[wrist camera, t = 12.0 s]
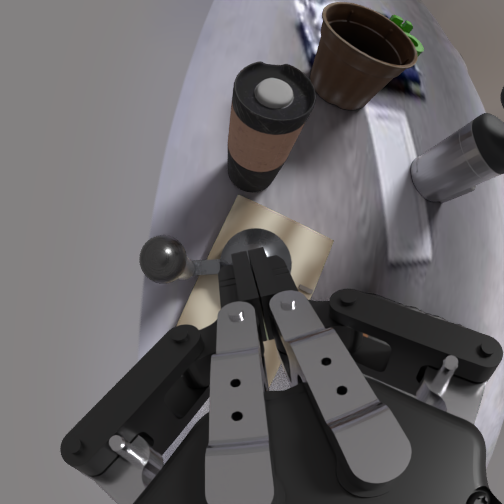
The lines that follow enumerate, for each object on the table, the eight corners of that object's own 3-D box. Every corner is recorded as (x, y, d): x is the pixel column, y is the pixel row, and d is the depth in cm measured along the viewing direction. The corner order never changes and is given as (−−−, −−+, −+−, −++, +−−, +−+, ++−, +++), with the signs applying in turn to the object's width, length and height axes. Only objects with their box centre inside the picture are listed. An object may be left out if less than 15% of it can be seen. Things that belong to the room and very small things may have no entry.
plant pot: (280, 68, 45) (300, 5, 29) (338, 50, 47) (366, -1, 32) (337, 131, 45) (380, 76, 29) (390, 104, 47) (432, 59, 31)
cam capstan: (301, 318, 38) (359, 340, 21) (190, 346, 36) (169, 393, 19) (277, 225, 39) (319, 182, 22) (167, 251, 37) (127, 224, 20)
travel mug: (251, 204, 41) (279, 138, 22) (215, 169, 41) (214, 84, 22) (286, 171, 43) (333, 95, 23) (251, 139, 43) (273, 49, 23)
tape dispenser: (417, 65, 51) (426, 55, 46) (394, 54, 50) (402, 43, 45) (406, 33, 53) (413, 24, 48) (385, 23, 52) (392, 13, 47)
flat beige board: (328, 242, 42) (334, 240, 40) (262, 390, 38) (265, 396, 36) (237, 198, 41) (238, 193, 39) (167, 350, 38) (164, 354, 35)
